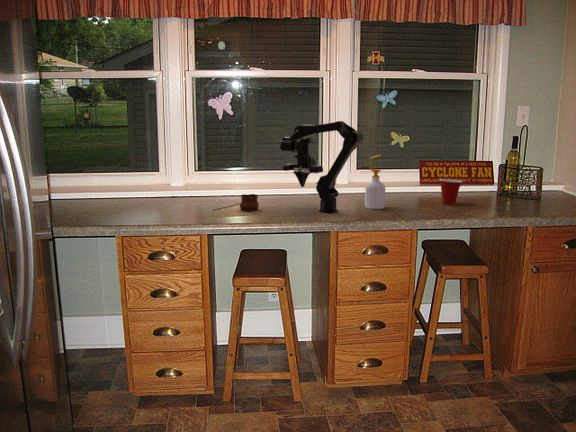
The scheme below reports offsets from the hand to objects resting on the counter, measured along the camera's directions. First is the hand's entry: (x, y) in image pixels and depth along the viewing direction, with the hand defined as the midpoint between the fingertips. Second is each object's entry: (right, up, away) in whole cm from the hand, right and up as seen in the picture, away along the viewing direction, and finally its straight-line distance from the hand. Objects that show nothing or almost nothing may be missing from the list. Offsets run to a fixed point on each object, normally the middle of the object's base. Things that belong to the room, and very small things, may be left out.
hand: (302, 186), depth 250 cm
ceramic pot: (-24, -11, -1) cm, 27 cm away
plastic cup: (+72, -8, +15) cm, 74 cm away
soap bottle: (+34, -10, +5) cm, 35 cm away
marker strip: (-34, -9, +6) cm, 36 cm away
